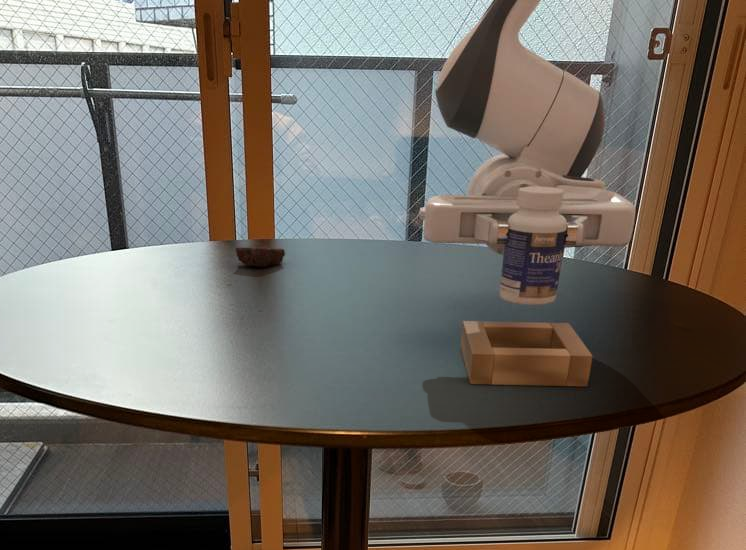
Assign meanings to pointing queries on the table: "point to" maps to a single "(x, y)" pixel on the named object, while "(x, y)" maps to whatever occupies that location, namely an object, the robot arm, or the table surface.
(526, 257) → the pill bottle
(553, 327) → the socket block
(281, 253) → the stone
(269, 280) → the table surface
